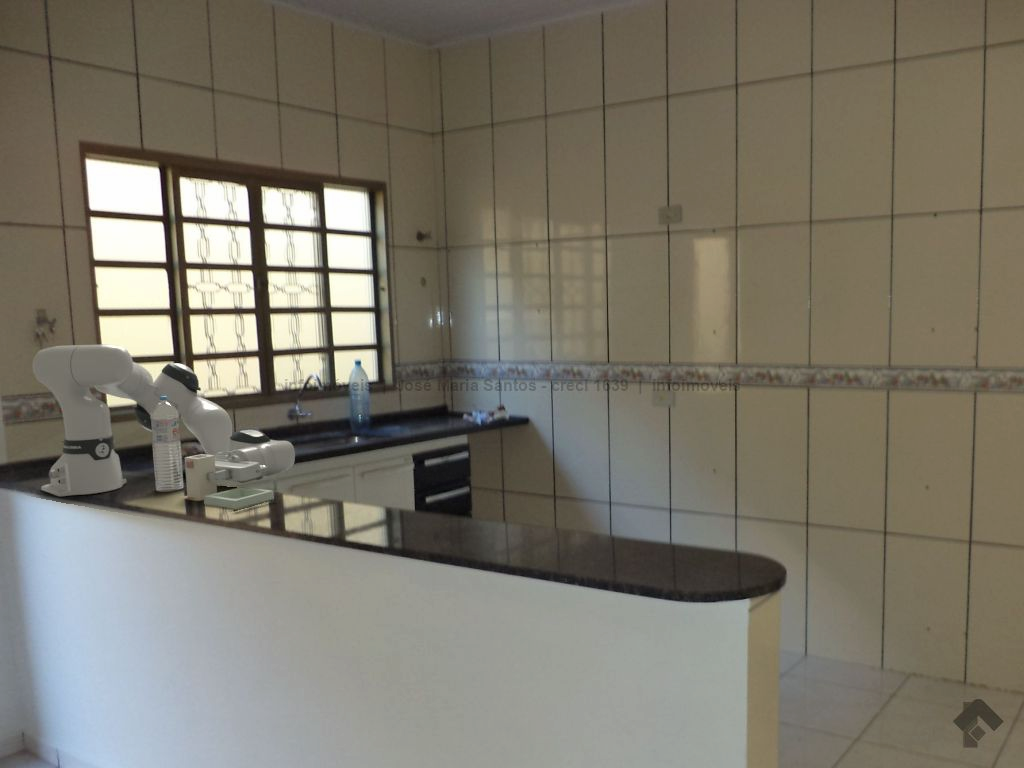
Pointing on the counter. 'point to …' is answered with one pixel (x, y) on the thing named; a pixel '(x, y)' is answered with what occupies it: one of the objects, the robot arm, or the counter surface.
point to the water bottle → (166, 447)
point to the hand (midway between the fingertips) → (199, 476)
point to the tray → (239, 498)
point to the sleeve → (200, 475)
